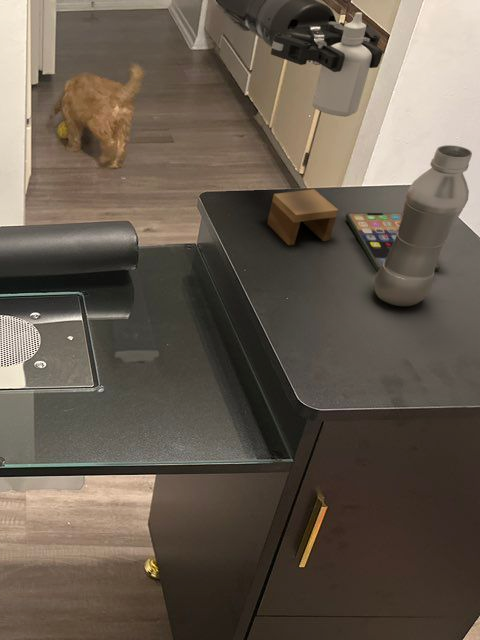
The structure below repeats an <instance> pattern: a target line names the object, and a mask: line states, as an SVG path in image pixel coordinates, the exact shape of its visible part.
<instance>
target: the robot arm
mask: <svg viewBox="0 0 480 640" xmlns="http://www.w3.org/2000/svg"><path fill="white" fill-rule="evenodd" d="M213 1H214V3H215V5H216V6H217V7H218V8H219V9H220V10H221V11H222V12H223V13H224V15H225V16H226V17H227V18H228V19H229V20H230V21H231V22H232V23H233V24H234V25H235V26H236V27H237V28H238V29H240V30H241V31H244V32H250V33H252V34H254V35H255V36H256V37H258V38H260V39H261V40H262V41H263V42H264V43H265V44H266V45H268V46H269V47H270V48H271V49H270V55H271V56H274V57H277V58H280V59H283V60H286V61H288V62H291V63H293V64H297V65H299V66H303V65H307V63H311V64H312V65H315V66H322V65H323V66H325V67H326V68H328V69H330V70H331V71H333V72H340V71H341V69H342V66H343V62H344V59H345V54H344V53H343V52H341V51H339V50H337V49H336V48H334V47H332V45H334V44H337V43H341V40H342V36H343V32H344V28H345V25H342V23H340V22H337V20H336V19H337V18H336V17H335V13H334V11H333V10H332V8H331V7H330V6H329V5H327V4H324V3H323V2H320V1H319V0H213ZM364 24H365V25H366V30H365V34H364V37H363V41H362V43H361V44H362V45H363V46H365V47H366V48H367V49H368V50H369V51H370V52H371V54H372V59H371V63H370V67H369V69H376V68H378V67H379V66H380V64H381V62H382V61H381V60H382V58H383V54H384V50H383V49H382V48H381V47H378V46H379V42H380V40H381V35H380V34H379V33H378V32H377V31H376V29H375V28H374V27H373V26H372V25H370V24H369V23H368V24H367V23H364Z"/></svg>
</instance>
